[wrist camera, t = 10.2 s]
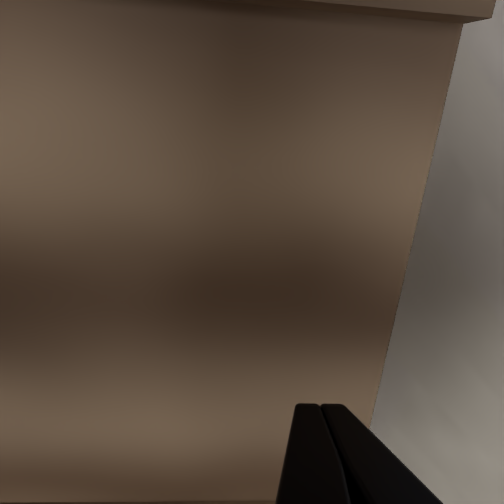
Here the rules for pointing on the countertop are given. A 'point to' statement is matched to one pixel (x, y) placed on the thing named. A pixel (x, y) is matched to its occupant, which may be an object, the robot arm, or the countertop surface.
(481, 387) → the countertop surface
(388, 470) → the robot arm
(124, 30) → the deck
